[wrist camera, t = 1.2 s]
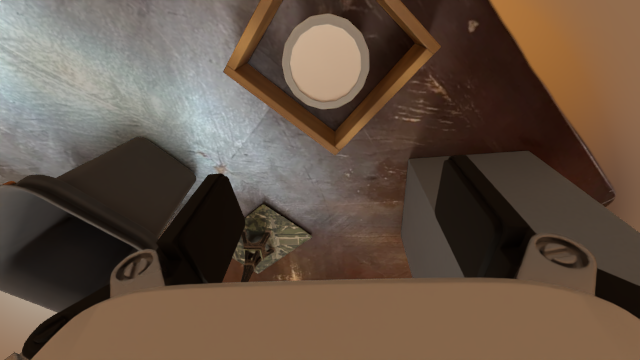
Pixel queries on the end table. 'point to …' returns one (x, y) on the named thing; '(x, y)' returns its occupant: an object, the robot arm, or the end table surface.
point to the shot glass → (325, 61)
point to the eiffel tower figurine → (266, 240)
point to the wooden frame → (296, 112)
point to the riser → (529, 201)
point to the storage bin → (86, 222)
